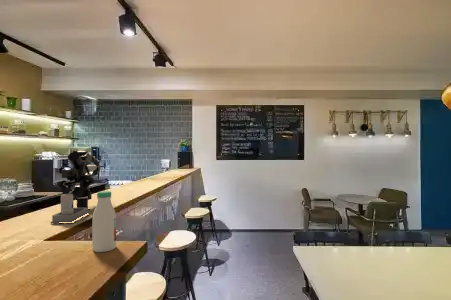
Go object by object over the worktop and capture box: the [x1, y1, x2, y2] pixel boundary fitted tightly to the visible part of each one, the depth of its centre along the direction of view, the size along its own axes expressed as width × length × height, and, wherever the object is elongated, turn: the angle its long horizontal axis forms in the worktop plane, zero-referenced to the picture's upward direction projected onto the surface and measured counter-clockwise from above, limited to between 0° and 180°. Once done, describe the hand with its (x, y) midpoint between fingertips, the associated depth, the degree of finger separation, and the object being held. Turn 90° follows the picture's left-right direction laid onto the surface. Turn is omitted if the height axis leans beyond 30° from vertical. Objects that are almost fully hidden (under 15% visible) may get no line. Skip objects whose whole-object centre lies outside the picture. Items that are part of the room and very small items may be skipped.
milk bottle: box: [91, 190, 117, 253], centre depth 100 cm, size 8×8×20 cm
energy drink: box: [60, 193, 74, 215], centre depth 138 cm, size 5×5×12 cm
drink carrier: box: [50, 207, 89, 224], centre depth 142 cm, size 18×10×4 cm, turn 1°
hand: (71, 196), depth 147 cm, fingers open, 9 cm apart
